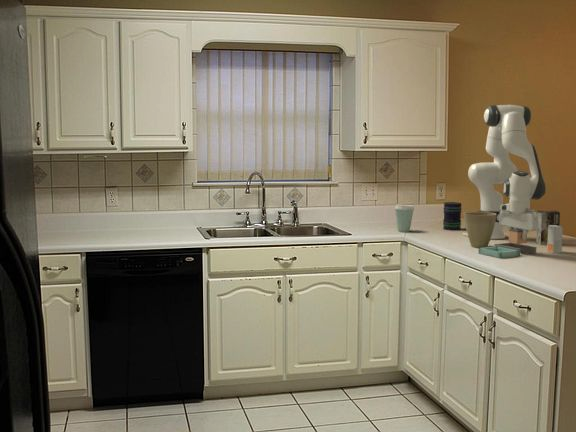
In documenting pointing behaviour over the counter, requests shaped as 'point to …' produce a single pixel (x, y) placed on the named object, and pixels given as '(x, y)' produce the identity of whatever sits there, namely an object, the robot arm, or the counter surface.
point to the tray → (498, 252)
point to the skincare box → (554, 239)
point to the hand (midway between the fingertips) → (517, 238)
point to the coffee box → (546, 225)
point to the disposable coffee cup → (404, 217)
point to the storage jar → (452, 216)
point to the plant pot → (479, 227)
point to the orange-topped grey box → (516, 236)
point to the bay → (518, 247)
